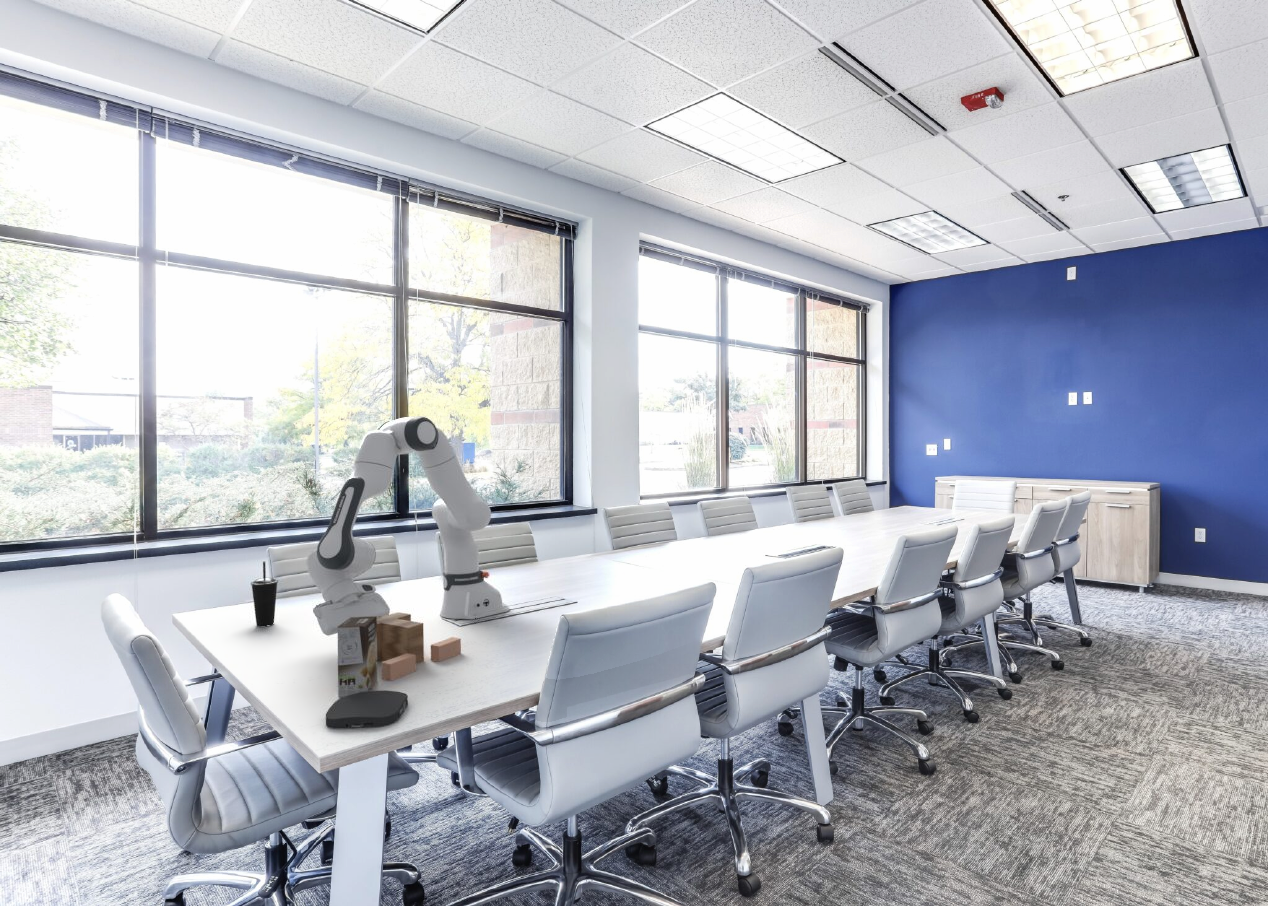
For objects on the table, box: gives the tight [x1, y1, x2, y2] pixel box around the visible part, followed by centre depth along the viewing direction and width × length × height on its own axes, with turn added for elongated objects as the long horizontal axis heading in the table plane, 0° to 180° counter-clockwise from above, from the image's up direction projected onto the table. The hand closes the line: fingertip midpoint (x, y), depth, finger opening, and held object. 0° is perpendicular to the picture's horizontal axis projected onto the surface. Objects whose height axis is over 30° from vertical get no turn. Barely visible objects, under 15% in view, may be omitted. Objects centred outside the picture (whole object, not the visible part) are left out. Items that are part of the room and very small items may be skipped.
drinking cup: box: [250, 561, 279, 627], centre depth 218 cm, size 8×8×20 cm
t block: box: [377, 611, 425, 665], centre depth 182 cm, size 15×15×10 cm
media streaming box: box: [325, 689, 409, 730], centre depth 146 cm, size 15×15×3 cm
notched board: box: [381, 636, 462, 681], centre depth 178 cm, size 3×24×4 cm, turn 151°
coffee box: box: [337, 617, 378, 698], centre depth 160 cm, size 9×6×16 cm
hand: (368, 637), depth 188 cm, fingers closed
